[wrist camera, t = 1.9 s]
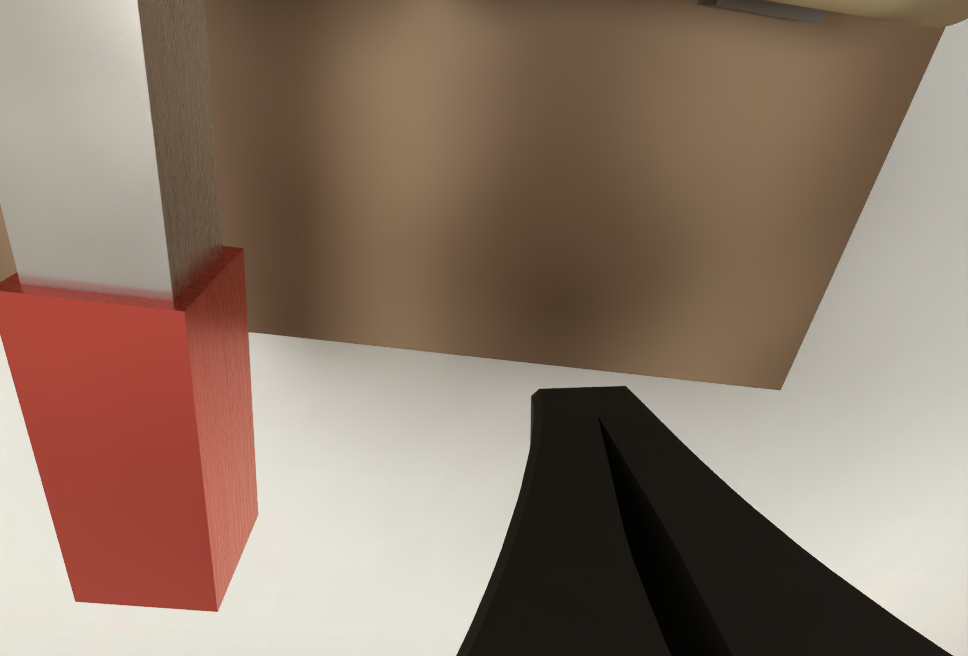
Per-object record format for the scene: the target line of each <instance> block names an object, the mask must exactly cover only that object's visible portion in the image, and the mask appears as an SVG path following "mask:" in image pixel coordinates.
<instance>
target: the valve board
mask: <svg viewBox="0 0 968 656" xmlns="http://www.w3.org/2000/svg"><path fill="white" fill-rule="evenodd" d="M205 10H206V24H207V37H208V51H209V65H210V79H211V93H212V106H213V120H214V134H215V148H216V162H217V175H218V189H219V203H220V217H221V231H222V244H223V246H231V247H239V248H244V266H245V284H246V302H247V320H248V332H255V333H264V334H273V335H282V336H291V337H300V338H309V339H319V340H328V341H337V342H346V343H355V344H364V345H373V346H382V347H391V348H400V349H410V350H419V351H428V352H437V353H446V354H455V355H464V356H473V357H482V358H491V359H501V360H510V361H519V362H528V363H537V364H546V365H555V366H564V367H573V368H582V369H592V370H601V371H610V372H619V373H628V374H637V375H646V376H655V377H664V378H673V379H683V380H692V381H701V382H710V383H719V384H728V385H737V386H746V387H755V388H764V389H774V390H781V388H782V386H783V383H784V381H785V379H786V377H787V375H788V372H789V370H790V368H791V366H792V364H793V361H794V359H795V357H796V355H797V353H798V350H799V348H800V346H801V344H802V342H803V339H804V337H805V335H806V333H807V331H808V328H809V326H810V324H811V322H812V320H813V317H814V315H815V313H816V311H817V309H818V306H819V304H820V302H821V300H822V298H823V295H824V293H825V291H826V289H827V287H828V284H829V282H830V280H831V278H832V276H833V273H834V271H835V269H836V267H837V265H838V262H839V260H840V258H841V256H842V254H843V251H844V249H845V247H846V245H847V243H848V240H849V238H850V236H851V234H852V232H853V229H854V227H855V225H856V223H857V221H858V218H859V216H860V214H861V212H862V210H863V207H864V205H865V203H866V201H867V199H868V196H869V194H870V192H871V190H872V188H873V185H874V183H875V181H876V179H877V177H878V174H879V172H880V170H881V168H882V166H883V163H884V161H885V159H886V157H887V155H888V152H889V150H890V148H891V146H892V144H893V141H894V139H895V137H896V135H897V133H898V130H899V128H900V126H901V124H902V121H903V119H904V117H905V115H906V113H907V110H908V108H909V106H910V104H911V102H912V99H913V97H914V95H915V93H916V91H917V88H918V86H919V84H920V82H921V80H922V77H923V75H924V73H925V71H926V69H927V66H928V64H929V62H930V60H931V58H932V55H933V53H934V51H935V49H936V47H937V44H938V42H939V40H940V38H941V36H942V33H943V31H944V29H945V27H946V26H950V25H953V24H956V23H958V22H961V21H963V20H965V19H967V18H968V0H205ZM15 273H17V268H16V264H15V260H14V256H13V252H12V248H11V244H10V240H9V236H8V232H7V228H6V225H5V221H4V217H3V213H2V209H1V205H0V282H1V281H3V280H5V279H6V278H8V277H10V276H12V275H13V274H15Z"/></svg>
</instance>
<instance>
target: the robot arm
mask: <svg viewBox="0 0 968 656" xmlns="http://www.w3.org/2000/svg"><path fill="white" fill-rule="evenodd" d="M457 656H953V655H951V654H950V653H948V652H947V651H945V650H943V649H942V648H940V647H939V646H937V645H936V644H935V643H933V642H932V641H930V640H929V639H927V638H926V637H924V636H923V635H921V634H920V633H918V632H917V631H915V630H914V629H912V628H911V627H909V626H908V625H907V624H905V623H904V622H902V621H901V620H899V619H898V618H896V617H895V616H894V615H892V614H891V613H889V612H888V611H887V610H885V609H884V608H883V607H881V606H880V605H878V604H877V603H876V602H874V601H873V600H872V599H870V598H869V597H867V596H866V595H865V594H863V593H862V592H860V591H859V590H858V589H856V588H855V587H854V586H852V585H851V584H849V583H848V582H847V581H845V580H844V579H843V578H841V577H840V576H838V575H837V574H836V573H834V572H833V571H832V570H830V569H829V568H828V567H826V566H825V565H824V564H822V563H821V562H820V561H819V560H817V559H816V558H815V557H813V556H812V555H811V554H809V553H808V552H807V551H806V550H804V549H803V548H802V547H801V546H799V545H798V544H797V543H796V542H794V541H793V540H792V539H791V538H790V537H788V536H787V535H786V534H785V533H783V532H782V531H781V530H780V529H779V528H777V527H776V526H775V525H774V524H773V523H771V522H770V521H769V520H768V519H767V518H765V517H764V516H763V515H762V514H760V513H759V512H758V511H757V510H756V509H754V508H753V507H752V506H751V505H750V504H749V503H748V502H746V501H745V500H744V499H743V498H742V497H741V496H740V495H738V494H737V493H736V492H735V491H734V490H733V489H732V488H730V487H729V486H728V485H727V484H726V483H725V482H724V481H723V480H722V479H721V478H720V477H719V476H717V475H716V474H715V473H714V472H713V471H712V470H711V469H710V468H709V467H708V466H707V465H705V464H704V463H703V462H702V461H701V460H700V459H699V458H698V457H697V456H696V455H695V454H694V453H693V452H692V451H691V450H690V449H689V448H688V447H687V446H686V445H685V444H683V443H682V442H681V441H680V440H679V439H678V438H677V437H676V436H675V435H674V434H673V433H672V432H671V431H670V430H669V429H668V428H667V427H666V426H665V425H664V424H663V423H662V422H661V421H660V420H659V419H658V418H657V417H656V416H655V415H654V414H653V413H652V412H651V411H650V410H649V409H648V408H647V407H646V406H645V405H644V404H643V403H642V402H641V401H640V400H639V399H638V398H637V397H636V396H635V395H634V394H633V393H632V392H631V391H630V390H629V389H628V388H627V387H626V386H613V387H583V388H553V389H539V390H538V391H537V392H535V393H534V394H533V395H532V396H531V443H530V451H529V456H528V460H527V464H526V468H525V473H524V477H523V481H522V485H521V490H520V493H519V497H518V500H517V503H516V507H515V510H514V513H513V516H512V519H511V522H510V525H509V528H508V531H507V534H506V537H505V540H504V543H503V546H502V549H501V552H500V555H499V557H498V560H497V563H496V565H495V568H494V571H493V573H492V576H491V578H490V581H489V583H488V586H487V588H486V591H485V593H484V595H483V598H482V600H481V602H480V605H479V607H478V610H477V612H476V614H475V617H474V619H473V621H472V624H471V626H470V628H469V630H468V632H467V634H466V637H465V639H464V641H463V643H462V645H461V647H460V649H459V651H458V653H457Z"/></svg>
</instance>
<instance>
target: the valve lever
mask: <svg viewBox="0 0 968 656" xmlns="http://www.w3.org/2000/svg"><path fill="white" fill-rule="evenodd" d="M0 205H1V209H2V213H3V217H4V221H5V225H6V228H7V232H8V236H9V240H10V244H11V248H12V252H13V256H14V260H15V264H16V268H17V273H15V274H13V275H12V276H10V277H8V278H6V279H5V280H3V281H1V282H0V335H1V339H2V342H3V346H4V349H5V353H6V357H7V360H8V364H9V367H10V371H11V374H12V378H13V381H14V385H15V388H16V392H17V396H18V399H19V403H20V406H21V410H22V413H23V417H24V420H25V424H26V428H27V431H28V435H29V438H30V442H31V445H32V449H33V452H34V456H35V460H36V463H37V467H38V470H39V474H40V477H41V481H42V484H43V488H44V492H45V495H46V499H47V502H48V506H49V509H50V513H51V516H52V520H53V524H54V527H55V531H56V534H57V538H58V541H59V545H60V548H61V552H62V556H63V559H64V563H65V566H66V570H67V573H68V577H69V580H70V584H71V588H72V591H73V595H74V598H75V602H88V603H102V604H116V605H130V606H144V607H158V608H172V609H186V610H200V611H214V612H218V610H219V607H220V605H221V603H222V600H223V598H224V595H225V593H226V591H227V588H228V586H229V583H230V581H231V579H232V576H233V574H234V571H235V569H236V567H237V564H238V562H239V559H240V557H241V555H242V552H243V550H244V547H245V545H246V543H247V540H248V538H249V535H250V533H251V531H252V528H253V526H254V523H255V521H256V519H257V516H258V503H257V484H256V466H255V448H254V430H253V412H252V393H251V375H250V357H249V339H248V320H247V302H246V284H245V266H244V248H239V247H231V246H223V244H222V231H221V217H220V203H219V189H218V175H217V162H216V148H215V134H214V120H213V106H212V93H211V79H210V65H209V51H208V37H207V24H206V10H205V0H0Z"/></svg>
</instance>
